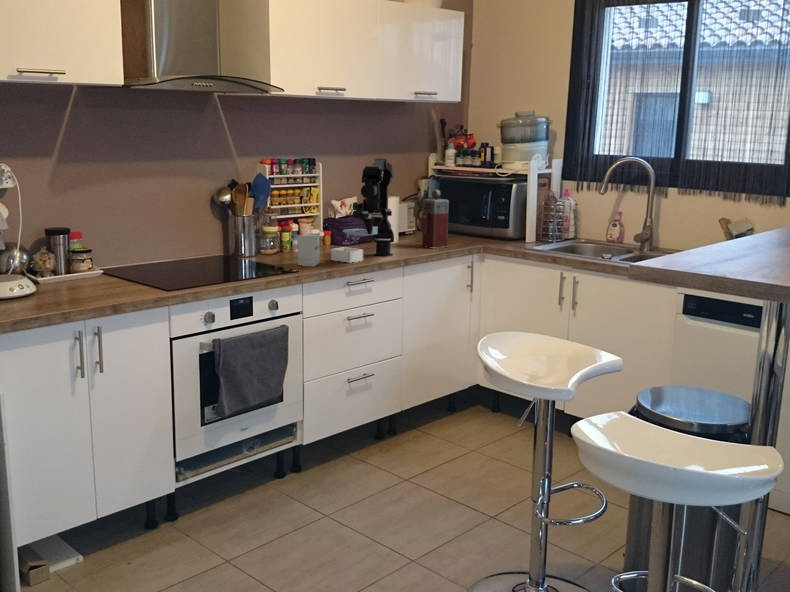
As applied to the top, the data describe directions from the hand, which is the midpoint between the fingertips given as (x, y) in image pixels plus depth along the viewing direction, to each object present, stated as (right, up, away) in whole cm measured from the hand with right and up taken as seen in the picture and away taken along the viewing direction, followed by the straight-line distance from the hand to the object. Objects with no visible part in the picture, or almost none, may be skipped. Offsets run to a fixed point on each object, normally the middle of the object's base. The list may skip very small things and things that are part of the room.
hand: (372, 233), depth 335 cm
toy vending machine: (+28, -3, +55) cm, 62 cm away
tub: (-11, -11, +12) cm, 20 cm away
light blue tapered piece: (-4, 0, +4) cm, 6 cm away
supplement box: (-27, -13, 0) cm, 30 cm away
